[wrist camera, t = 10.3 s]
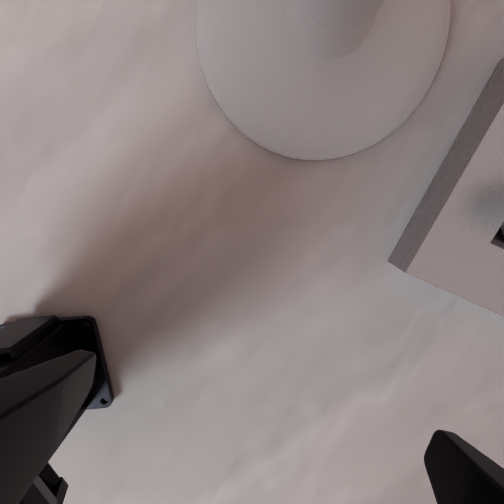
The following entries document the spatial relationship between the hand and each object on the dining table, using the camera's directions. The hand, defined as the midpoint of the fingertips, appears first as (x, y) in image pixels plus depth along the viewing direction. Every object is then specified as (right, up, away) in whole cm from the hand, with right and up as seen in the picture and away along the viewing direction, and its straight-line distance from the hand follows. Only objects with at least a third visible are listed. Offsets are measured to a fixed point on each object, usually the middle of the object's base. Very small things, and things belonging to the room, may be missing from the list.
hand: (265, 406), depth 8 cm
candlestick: (+3, +15, +9) cm, 18 cm away
